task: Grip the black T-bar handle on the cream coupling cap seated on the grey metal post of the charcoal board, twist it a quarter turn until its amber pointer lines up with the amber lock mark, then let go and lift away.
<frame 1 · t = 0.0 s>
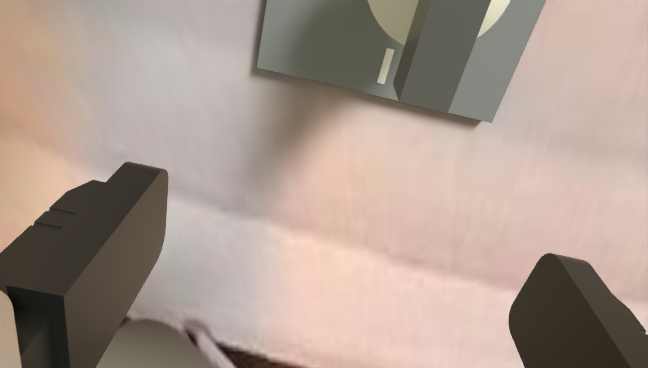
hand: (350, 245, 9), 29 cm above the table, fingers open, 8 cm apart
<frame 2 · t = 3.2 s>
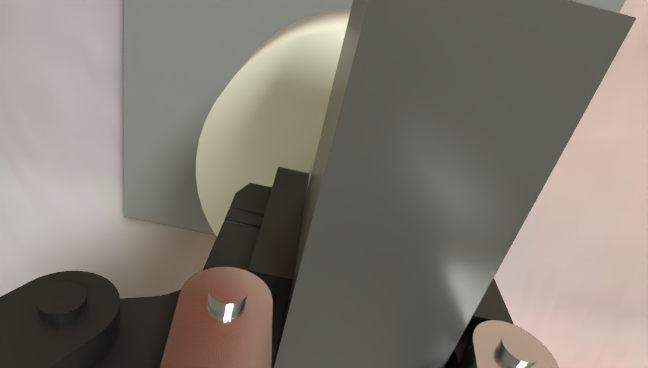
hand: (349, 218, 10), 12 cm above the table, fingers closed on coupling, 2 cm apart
post board: (347, 73, 21), on the table
coupling: (350, 218, 10), point 12 cm above the table, hinge at 0.0°, touching gripper
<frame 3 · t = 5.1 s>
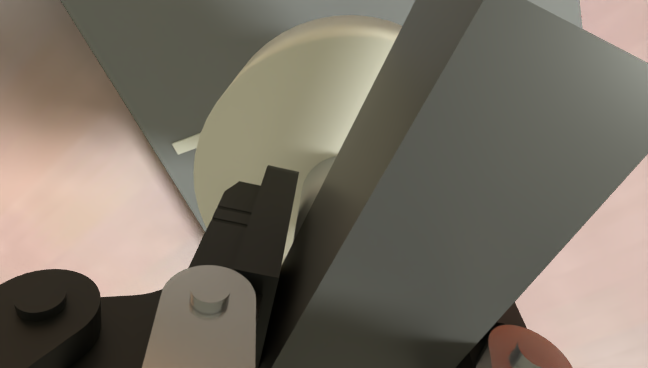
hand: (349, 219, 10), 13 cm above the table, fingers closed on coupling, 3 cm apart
post board: (345, 76, 21), on the table
coupling: (347, 223, 10), point 12 cm above the table, hinge at 45.1°, touching gripper
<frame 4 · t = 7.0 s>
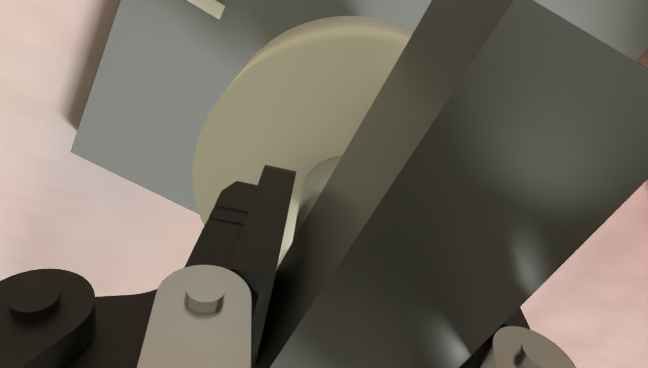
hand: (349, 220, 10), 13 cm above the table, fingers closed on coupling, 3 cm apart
post board: (345, 77, 21), on the table
coupling: (347, 224, 10), point 12 cm above the table, hinge at 94.2°, touching gripper
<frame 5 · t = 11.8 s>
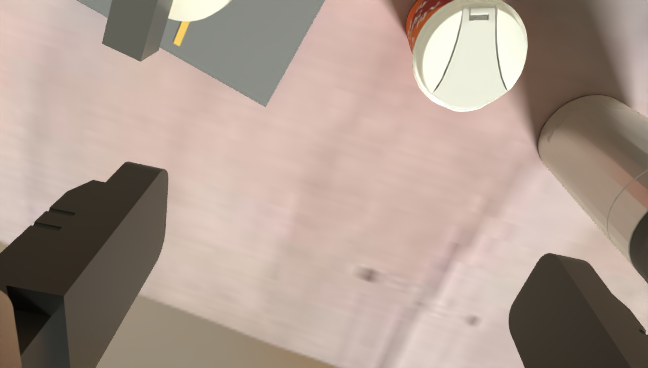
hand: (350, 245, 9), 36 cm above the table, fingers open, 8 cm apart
paper cup: (435, 24, 41), on the table
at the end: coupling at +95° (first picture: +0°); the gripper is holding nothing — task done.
